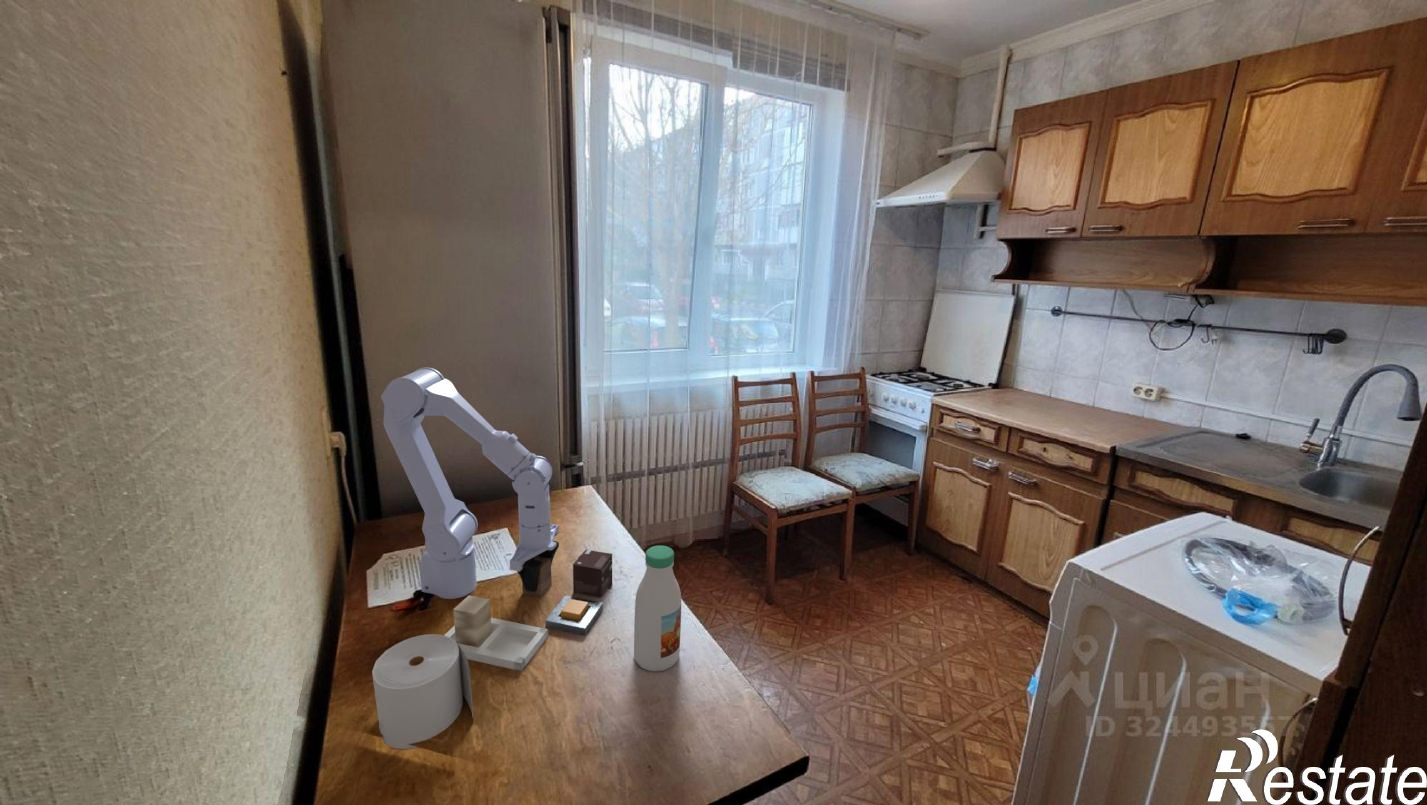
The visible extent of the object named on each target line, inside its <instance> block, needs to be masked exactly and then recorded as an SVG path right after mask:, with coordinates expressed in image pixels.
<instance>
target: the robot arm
mask: <svg viewBox="0 0 1427 805" xmlns="http://www.w3.org/2000/svg"><path fill="white" fill-rule="evenodd" d="M380 398H381V401H382V403H383V405H384V407H383V427H384V430H385V432H386V434H387V437H388V438H389V440H390V442H391V445H392V447H393V449H394V451H395V454H396V456H397V458H398V460H399V461H400V464H401V466H402V468H403V471H404V472H405V474H406V476H407V478H408V481H409V482H410V484H411V486H412V488H413V491H414V494H415V495H416V497H417V499H418V502H419V504H420V506H421V508H422V509H423V511H424V518H423V522H422V527H421V531H422V533H423V535H424V540H425V542H424V547H425V551H424V552H423V554H422V556H421V558H420V562H419V566H418V567H419V578H420V588H421V592H423V593H427V594H432V595H435V596H437V597H439V598H440V599H445V600H446V599H448V600H453V599H458V598H463V597H466V596H469V594H471V593H472V592H474V591H475V589H476V588H477V585H478V583H477V570H476V569H477V568H476V567H477V566H476V558H475V557H476V554H475V543H474V541H473V540H474V538H473V536H474V535H475V534H476V532H477V531H478V526H479V523H478V519H477V517H476V516H475V515H474V513H472V512H471V511H470V510H469V509H468V508H467V506H466V504H465V502H464V501H461V500H460V499H456V498H455V496H454V494H453V493H452V490H451V488H450V486H449V484H448V481H447V479H446V478H445V475H444V473H443V471H442V468H441V465H440V464H439V462H438V460H437V458H436V455H435V453H434V451H433V448H432V446H431V444H430V442H429V440H428V437H427V436H426V433H425V431H424V428H423V427H422V421H423V420H424V418H425V417H426V416H430V417H431V416H433V417H442V416H443V417H446V418H447V419H448V420H450V422H452V423H454V424H455V425H456V426H458V427H459V428H460V429H462V430H463V431H464V432H465V433H466V434H467V435H469V436H470V437H472V438H473V439H474V440H476V441H477V442H478V443H479V444H481V450H482V455H483V456H484V457H485V458H487V459H488V460H489V461H490V462H491V463H492V464H493V465H495V466H496V468H498V469H499V470H500V471H501V472H503V474H505V475H506V476H508V478H509V479H511V480H512V482H511V485H512V488H513V490H514V491H515V493H517V499H518V500H517V504H518V505H517V506H518V532H519V535H518V536H519V542H518V545H517V546H516V548H515V551H514V554H513V556H512V558H511V559H509V570H510V571H515V572H517V574H518V575H519V577H520V579H521V583H522V582H523V585H524V588H525V590H526V591H531V592H535V591H536V590H537V586H538V575H539V571H540V568H541V565H542V563H543V561H538V560H535V558H533V557H535V556H540V557H545V558H551V566H552V564H553V561H554V558H555V555H556V553H557V551H558V549H559V547H560V542H558V541H555V540H554V538H555V537H556V536H557V535H559V529H560V528H559V525H558V524H552V522H551V497H550V485H549V482H550V480H551V478H552V475H553V466H552V465H551V463H550V462H549V461H548V459H547V458H546V457H544V456H541V455H536V454H535V453H532V452H531V451H529V450H528V449H527V448H526V447H525V446H524V445H523V444H522V443H520V442H519V441H518V439H519V438H518V436H517V435H515V434H514V433H512V434H511V433H509V432H508V431H507V430H496V429H495V428H494V427H493V426H492V425H491V424H490V423H489V422H488V421H487V420H486V419H485V418H484V417H483V416H482V415H481V414H480V413H479V412H478V411H477V410H476V409H475V408H474V407H473V406H472V405H471V404H470V403H469V402H468V401H467V400H466V399H465V398H464V397H463V396H462V395H461V394H460V393H459V391H458V390H457V389H456V387H455V385H454V384H453V383H452V381H450V379H447V378H445V377H444V376H443V374H442V372H439V370H437V369H435V368H432V367H426V366H424V367H420V368H417V370H415V371H414V372H411V373H408V374H406V375H404V376H401V377H398V378H397V377H396V378H395V379H393V380H391V381H390V382H389V383H388V385H387V386H386V388H385V389H384V391H383V393H382V394H381V395H380Z"/></svg>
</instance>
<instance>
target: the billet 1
mask: <svg viewBox="0 0 1427 805" xmlns="http://www.w3.org/2000/svg"><path fill="white" fill-rule="evenodd" d="M465 597H466V596H465ZM452 612H453V620H454V625H455V636H456V643H459V644H464V645H468V646H473V647H477V648H479V647H480V646H481V645H482V644H483V642H484V641H485V640H486V639H487V638H488V637H489V636H490V635H491V634H492V627H491V618H492V615H491V614H492V613H491V599H489V598H484V597H480V596H474V595H469V594H468V595H467V597H466V598H464V599H463V600H462V601H461V602H459V603H458V604H457V605H456V606H455V607H454V608H453V611H452Z"/></svg>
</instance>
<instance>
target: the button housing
mask: <svg viewBox="0 0 1427 805" xmlns="http://www.w3.org/2000/svg"><path fill="white" fill-rule="evenodd" d="M570 599H573V600H578V601H584V602H588V611H587V613H586V614H585V616H584V617H583V618H582V620H581V621H578V620H573V619H568V618H563V617H561V610H562V609H563V608H564V606H565V605H566V604H567V602H568V601H569V600H570ZM603 610H604V602H602V601H596V600H591V599H587V598H582V597H576V596H570V595H565V596H563V598H562V599H561V600H560V602H559V603H558V604H557V605H556V607H554V608H553V610H552V611H551V612H550V614H549V615H548V616H547V617H546V619H545V620H544V622H545V623H544V624H545V628H544V629H548V630H555V631H560V632H565V633H568V634H569V633H570V634H573V635H579V636H583V637H584V636H586V635H587V634H588V633H589V631H590V630H591V628H592V627H593V625H594V624H595V623H596V620H598V618H599V616H600V615H601V613H602V612H603Z"/></svg>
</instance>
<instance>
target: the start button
mask: <svg viewBox="0 0 1427 805" xmlns="http://www.w3.org/2000/svg"><path fill="white" fill-rule="evenodd" d="M587 611H588V602H584V601H578V600H573V599H570V600H569V601H568V602H567V604H566V605H565V606H564V608H563V609H562V610H561V617H563V618H568V619H573V620H578V621H581V620H582V618H583V617H584V616H585V614H586V613H587Z"/></svg>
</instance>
